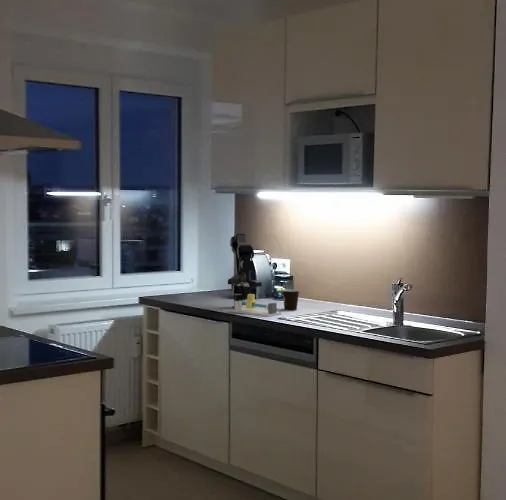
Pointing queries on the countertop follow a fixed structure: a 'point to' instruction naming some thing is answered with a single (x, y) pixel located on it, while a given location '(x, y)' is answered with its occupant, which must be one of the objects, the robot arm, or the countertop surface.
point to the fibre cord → (270, 307)
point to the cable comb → (251, 310)
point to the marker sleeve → (250, 301)
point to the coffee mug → (290, 299)
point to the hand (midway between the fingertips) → (244, 299)
